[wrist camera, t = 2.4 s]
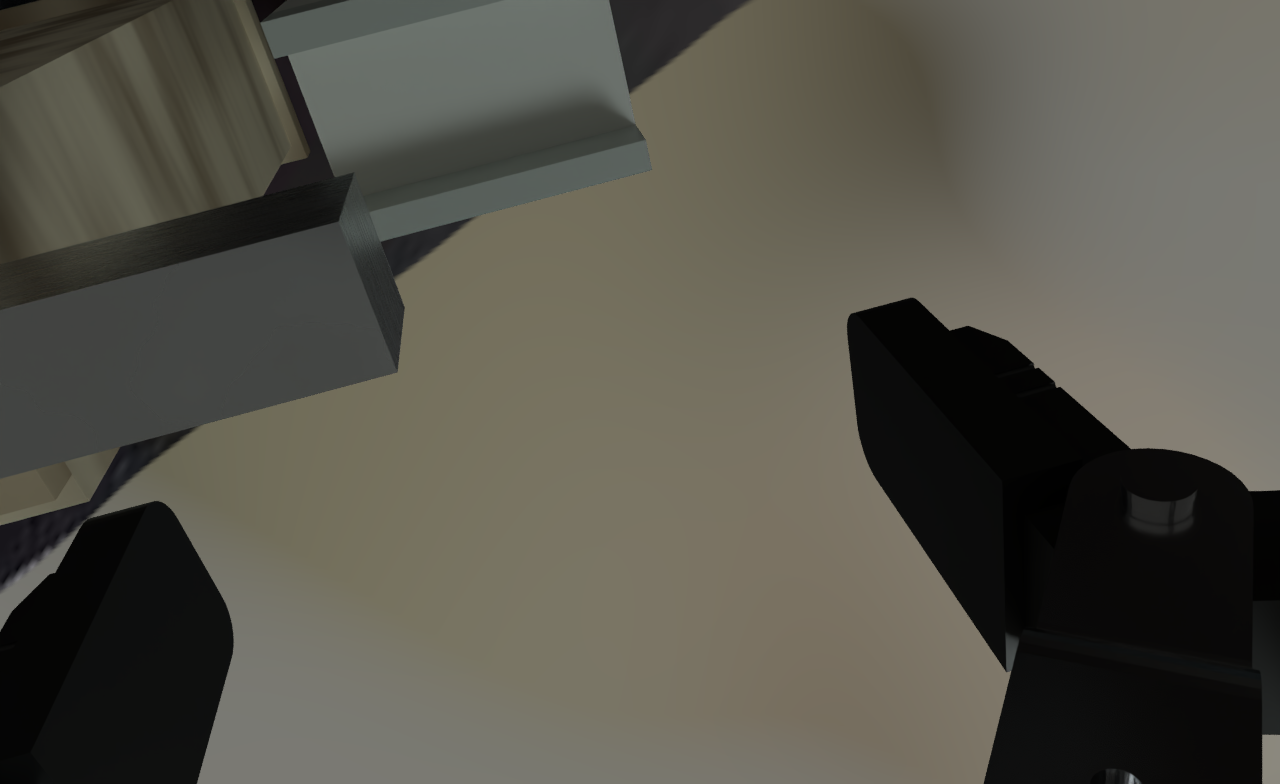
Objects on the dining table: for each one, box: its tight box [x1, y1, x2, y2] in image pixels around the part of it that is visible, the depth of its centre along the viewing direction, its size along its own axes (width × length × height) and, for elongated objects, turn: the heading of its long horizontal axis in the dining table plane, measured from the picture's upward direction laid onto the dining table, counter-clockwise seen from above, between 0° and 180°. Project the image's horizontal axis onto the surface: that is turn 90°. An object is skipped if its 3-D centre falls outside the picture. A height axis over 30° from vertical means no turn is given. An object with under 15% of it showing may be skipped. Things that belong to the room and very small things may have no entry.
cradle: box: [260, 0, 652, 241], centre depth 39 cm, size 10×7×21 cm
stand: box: [0, 0, 310, 525], centre depth 33 cm, size 11×10×33 cm
